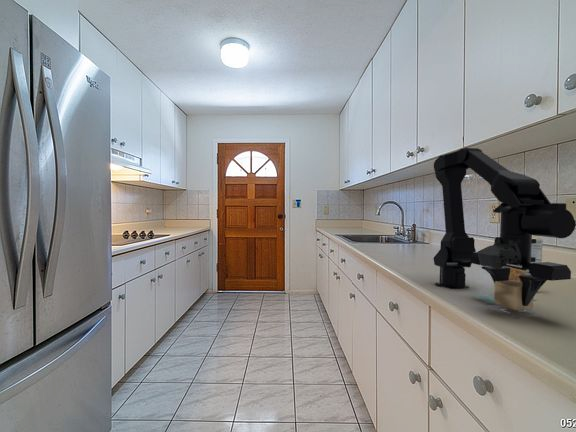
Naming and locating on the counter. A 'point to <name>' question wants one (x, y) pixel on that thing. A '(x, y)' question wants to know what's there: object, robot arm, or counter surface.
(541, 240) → the candy box
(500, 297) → the oak block
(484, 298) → the rubber mat
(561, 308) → the counter surface
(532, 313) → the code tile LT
